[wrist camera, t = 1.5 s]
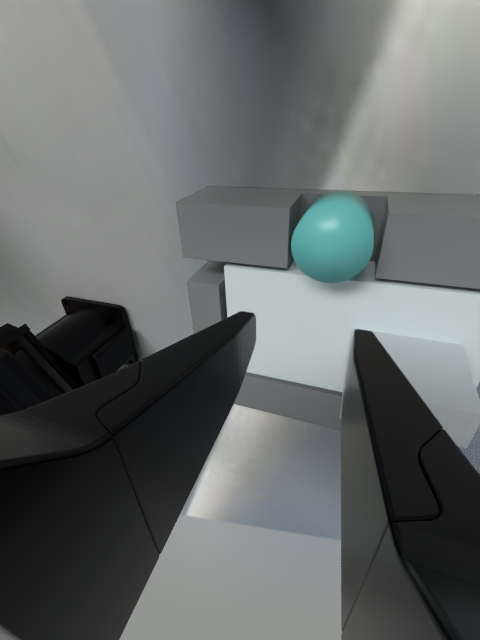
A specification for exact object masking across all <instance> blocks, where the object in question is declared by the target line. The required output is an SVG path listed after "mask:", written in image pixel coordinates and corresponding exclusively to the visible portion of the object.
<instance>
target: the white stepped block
mask: <svg viewBox="0 0 480 640" xmlns="http://www.w3.org/2000/svg"><path fill="white" fill-rule="evenodd" d="M375 265H376V261H369V262H368V264H367V265H366V266H365V268H364V269H363V270H362V271H361V272H360V273H359V274H357V275H356V276H354V277H353V278H351V279H348V280H346V281H343V282H338V283H325V282H320V281H317V280H314V279H312V278H310V277H309V276H307V275H306V274H304V273H303V272H302V271H301V270H300V268H299V267H298V266H297V264H296V263H295V260H294V258H292V260H291V262H290V264H289V266H288V268H278V267H269V266H260V265H250V264H241V263H232V262H227V264H226V265H225V266H224V276H225V290H226V304H227V317H230V316H232V315H234V314H236V313H238V312H240V311H245V312H251V313H254V314H255V316H256V344H255V347H254V350H253V353H252V356H251V359H250V362H249V365H248V368H247V371H246V372H249V373H253V374H258V375H263V376H268V377H272V378H277V379H282V380H287V381H291V382H296V383H301V384H305V385H310V386H315V387H320V388H324V389H329V390H334V391H338V392H343V393H342V401H341V409H340V417H339V419H341V413H342V403H343V396H344V389H345V382H346V375H347V368H348V361H349V355H350V349H351V344H352V339H353V334H354V330H355V329H361V330H368V331H372V332H373V333H374V334H375V336H376V337H377V339H378V340H379V341H380V343H381V344H382V345H383V347H384V348H385V349H386V351H387V352H388V353H389V355H390V356H391V357H392V359H393V360H394V362H395V363H396V364H397V366H398V367H399V368H400V370H401V371H402V372H403V374H404V375H405V376H406V378H407V379H408V380H409V382H410V383H411V385H412V386H413V387H414V389H415V390H416V391H417V393H418V394H419V395H420V397H421V398H422V399H423V401H424V402H425V403H426V405H427V406H428V408H429V409H430V410H431V412H432V413H433V414H434V416H435V417H436V418H437V420H438V421H439V422H440V424H441V425H442V427H443V429H444V430H446V432H447V433H448V434H449V436H450V437H451V438H452V440H453V441H454V442H455V444H456V445H457V446H458V447H461V448H466V449H467V447H468V445H469V444H470V442H471V440H472V438H473V436H474V435H475V433H476V431H477V429H478V427H479V425H480V399H479V396H478V393H477V390H476V388H477V386H478V384H479V382H480V289H474V288H465V287H456V286H446V285H437V284H428V283H418V282H409V281H400V280H390V279H381V278H375Z"/></svg>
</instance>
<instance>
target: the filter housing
mask: <svg viewBox="0 0 480 640" xmlns="http://www.w3.org/2000/svg"><path fill="white" fill-rule="evenodd" d="M334 191H339V190H309V189H279V188H248V187H218V186H207V187H205V188H203V189H201V190H199V191H197V192H195V193H193V194H191V195H189V196H187V197H185V198H183V199H181V200H179V201H177V202H176V207H177V214H178V221H179V228H180V235H181V243H182V250H183V257H185V258H194V259H204V260H208V262H207V263H206V264H205V265H204V266H203V267H202V268H201V269H200V270H199V271H198V272H196V273H195V274H194V275H193V276H192V277H191V278H190V279H189V280H188V281H187V285H188V293H189V300H190V307H191V314H192V321H193V328H194V334H195V333H197V332H199V331H201V330H203V329H205V328H207V327H209V326H211V325H213V324H215V323H217V322H219V321H221V320H223V319H225V318H227V304H226V290H225V276H224V266H225V265H226V264H227V262H232V263H241V264H250V265H260V266H269V267H278V268H288V266H289V264H290V262H291V260H292V258H293V255H292V250H291V241H292V236H293V233H294V230H295V228H296V226H297V225H298V223H299V222H300V220H301V219H302V217H303V216H304V214H305V213H306V211H307V210H308V208H309V207H310V205H311V204H312V203H313V202H314V201H315V200H316V199H318V198H319V197H321V196H322V195H324V194H327V193H330V192H334ZM347 192H351V193H354V194H356V195H358V196H360V197H361V198H362V199H364V200H365V201H366V202H367V204H368V205H369V206H370V208H371V210H372V213H373V216H374V246H373V252H372V256H371V258H370V260H369V261H376V265H375V278H381V279H390V280H400V281H409V282H418V283H428V284H437V285H446V286H456V287H465V288H474V289H480V195H461V194H431V193H400V192H370V191H347ZM342 393H343V392H338V391H334V390H329V389H324V388H320V387H315V386H310V385H305V384H301V383H296V382H291V381H287V380H282V379H277V378H272V377H268V376H263V375H258V374H253V373H249V372H246V374H245V377H244V380H243V383H242V386H241V388H240V391H239V393H238V395H237V398H236V400H235V402H234V404H237V405H241V406H245V407H249V408H253V409H257V410H261V411H265V412H269V413H273V414H278V415H282V416H286V417H290V418H294V419H298V420H302V421H306V422H310V423H314V424H318V425H322V426H326V427H331V428H335V429H339V430H341V419H339V417H340V409H341V401H342Z"/></svg>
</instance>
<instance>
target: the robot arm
mask: <svg viewBox="0 0 480 640" xmlns="http://www.w3.org/2000/svg"><path fill="white" fill-rule="evenodd" d="M62 304H63V307H64V310H65V312H66V315H65V316H63V317H62V318H61V319H59V320H58V321H56V322H55V323H53V324H52V325H50V326H49V327H47V328H46V329H44V330H43V331H41V332H40V333H39V334H37V335H36V336H34V335H33V334H32V332H31V331H30V328H29V327H28V326H27V325H26V324H24V325H22V326H21V327H19V328H17V327H16V326H13V325H10V324H8V323H7V324H5V325H4V326H2V327H0V640H119V639H120V637H121V635H122V633H123V630H124V628H125V626H126V624H127V622H128V620H129V618H130V615H131V614H132V612H133V610H134V608H135V606H136V604H137V602H138V600H139V597H140V595H141V593H142V591H143V589H144V587H145V585H146V583H147V581H148V579H149V577H150V575H151V573H152V571H153V569H154V567H155V565H156V563H157V560H158V558H159V554H160V553H161V552H162V550H163V548H164V546H165V544H166V542H167V540H168V537H169V535H170V533H171V531H172V529H173V527H174V525H175V523H176V521H177V519H178V517H179V515H180V513H181V511H182V509H183V507H184V505H185V503H186V500H187V498H188V496H189V494H190V492H191V490H192V488H193V486H194V484H195V482H196V480H197V478H198V476H199V474H200V472H201V470H202V468H203V465H204V463H205V461H206V459H207V457H208V455H209V453H210V451H211V449H212V447H213V445H214V443H215V441H216V439H217V437H218V435H219V433H220V431H221V428H222V426H223V424H224V422H225V420H226V418H227V416H228V414H229V412H230V410H231V408H232V406H233V404H234V402H235V400H236V398H237V395H238V393H239V391H240V388H241V386H242V383H243V380H244V377H245V374H246V371H247V368H248V365H249V362H250V359H251V356H252V353H253V350H254V347H255V344H256V316H255V314H254V313H251V312H245V311H240V312H238V313H236V314H234V315H232V316H230V317H227V318H225V319H223V320H221V321H219V322H217V323H215V324H213V325H211V326H209V327H207V328H205V329H203V330H201V331H199V332H197V333H195V334H193V335H191V336H189V337H187V338H185V339H183V340H181V341H179V342H176V343H174V344H172V345H170V346H168V347H166V348H164V349H162V350H160V351H158V352H156V353H154V354H152V355H150V356H148V357H146V358H144V359H142V360H141V361H138V359H137V355H136V351H135V348H134V344H133V340H132V337H131V333H130V329H129V325H128V322H127V318H126V314H125V311H124V309H123V307H121V306H120V305H116V304H110V303H104V302H98V301H92V300H86V299H80V298H74V297H68V296H67V297H65V298H63V299H62ZM123 364H126V365H129V366H127V367H125V368H123V369H121V370H119V371H117V370H118V369H119V368H120V367H121V366H122V365H123ZM116 371H117V372H116ZM341 544H342V545H341V553H342V554H341V561H342V562H341V568H342V570H341V572H342V574H341V575H342V577H341V578H342V579H341V582H342V584H341V587H342V588H341V589H342V590H341V593H342V632H343V633H342V640H480V474H479V473H478V472H477V470H476V469H475V468H474V467H473V466H472V464H471V463H470V462H469V460H468V459H467V458H466V457H465V455H464V454H463V453H462V451H461V450H460V449H459V448H458V446H457V445H456V444H455V442H454V441H453V440H452V438H451V437H450V436H449V434H448V433H447V432H446V430H444V429H443V427H442V425H441V424H440V422H439V421H438V420H437V418H436V417H435V416H434V414H433V413H432V412H431V410H430V409H429V408H428V406H427V405H426V403H425V402H424V401H423V399H422V398H421V397H420V395H419V394H418V393H417V391H416V390H415V389H414V387H413V386H412V385H411V383H410V382H409V380H408V379H407V378H406V376H405V375H404V374H403V372H402V371H401V370H400V368H399V367H398V366H397V364H396V363H395V362H394V360H393V359H392V357H391V356H390V355H389V353H388V352H387V351H386V349H385V348H384V347H383V345H382V344H381V343H380V341H379V340H378V339H377V337H376V336H375V334H374V333H373V332H372V331H368V330H361V329H355V330H354V334H353V339H352V344H351V349H350V355H349V361H348V368H347V375H346V382H345V389H344V396H343V403H342V413H341Z"/></svg>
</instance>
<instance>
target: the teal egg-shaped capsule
mask: <svg viewBox="0 0 480 640" xmlns="http://www.w3.org/2000/svg"><path fill="white" fill-rule="evenodd" d="M373 246H374V216H373V213H372V210H371V208H370V206H369V205H368V204H367V202H366V201H365V200H364V199H362V198H361V197H360V196H358V195H356V194H354V193H351V192H347V191H334V192H330V193H327V194H324V195H322V196H321V197H319V198H318V199H316V200H315V201H314V202H313V203H312V204H311V205H310V207H309V208H308V210H307V211H306V213H305V214H304V216H303V217H302V219H301V220H300V222H299V223H298V225H297V226H296V228H295V230H294V233H293V236H292V241H291V250H292V255H293V258H294V260H295V263H296V264H297V266H298V267H299V268H300V270H301V271H302V272H303V273H304V274H306V275H307V276H309V277H310V278H312V279H314V280H317V281H320V282H325V283H338V282H343V281H346V280H348V279H351V278H353V277H354V276H356V275H357V274H359V273H360V272H361V271H362V270H363V269H364V268H365V266H366V265H367V264H368V262H369V260H370V258H371V256H372V252H373Z"/></svg>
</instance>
